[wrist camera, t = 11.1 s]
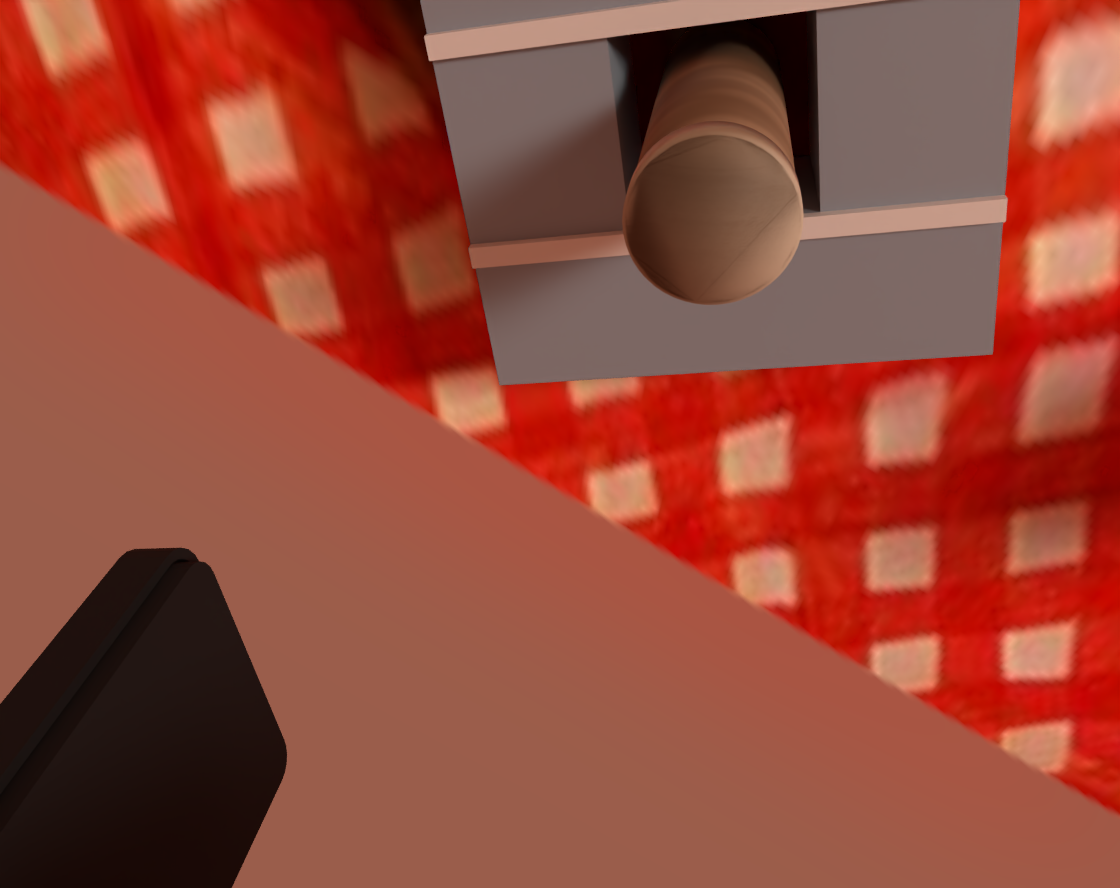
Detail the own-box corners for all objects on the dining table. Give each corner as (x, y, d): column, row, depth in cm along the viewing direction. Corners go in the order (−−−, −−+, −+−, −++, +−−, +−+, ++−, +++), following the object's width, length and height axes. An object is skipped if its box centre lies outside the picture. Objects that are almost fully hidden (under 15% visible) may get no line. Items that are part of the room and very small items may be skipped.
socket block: (989, -251, 25) (1043, -260, 20) (960, 281, 32) (994, 359, 28) (443, -153, 28) (386, -143, 23) (528, 315, 35) (497, 390, 30)
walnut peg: (780, 7, 29) (801, 122, 19) (784, 132, 30) (805, 297, 20) (655, 24, 29) (612, 143, 19) (667, 145, 31) (632, 311, 21)
